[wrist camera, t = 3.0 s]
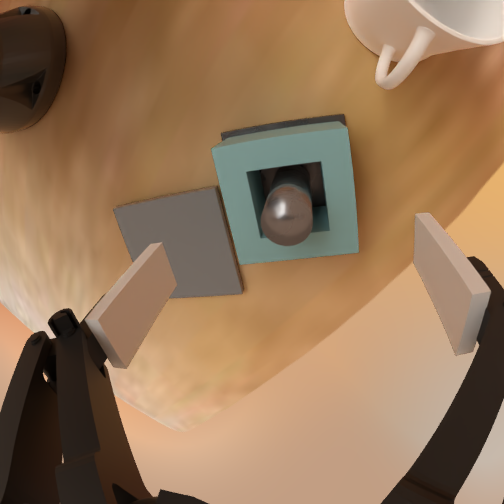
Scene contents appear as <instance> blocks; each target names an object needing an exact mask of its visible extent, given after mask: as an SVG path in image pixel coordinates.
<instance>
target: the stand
mask: <svg viewBox="0 0 504 504" xmlns="http://www.w3.org/2000/svg"><path fill="white" fill-rule="evenodd" d="M334 121H339V122H341V123H342V124H343V125H344V126H346V125H345V118H344V114H339V115H329V116H320V117H312V118H304V119H297V120H290V121H283V122H277V123H271V124H265V125H259V126H253V127H248V128H243V129H238V130H233V131H228V132H223V133H221V137H222V141H224V140H225V139H227V138H230V137H235V136H240V135H245V134H251V133H256V132H262V131H268V130H274V129H281V128H287V127H294V126H301V125H309V124H317V123H325V122H334ZM259 171H260V176H261V181H262V186H263V190H264V195H265V200H266V203H265V206H264V209H263V212H262V215H261V228H262V230H263V232H264V234H265V236H266V237H267V238H268V239H269V240H271V241H272V242H274V243H276V244H278V245H282V246H293V245H297V244H299V243H301V242H303V241H304V240H305V239H306V238H307V237H308V236H309V234H310V233H311V230H312V227H313V216H312V207H319V206H326V204H325V196H324V188H323V181H322V174H321V167H320V161H319V162H311V163H303V164H295V165H288V166H281V167H274V168H267V169H261V170H259Z"/></svg>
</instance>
